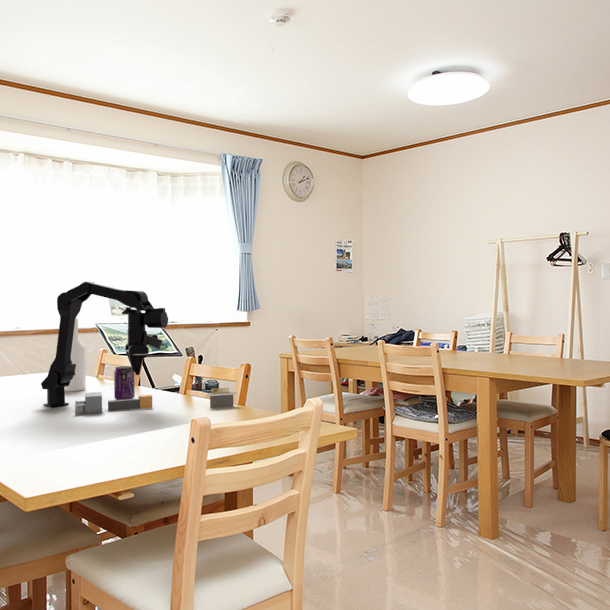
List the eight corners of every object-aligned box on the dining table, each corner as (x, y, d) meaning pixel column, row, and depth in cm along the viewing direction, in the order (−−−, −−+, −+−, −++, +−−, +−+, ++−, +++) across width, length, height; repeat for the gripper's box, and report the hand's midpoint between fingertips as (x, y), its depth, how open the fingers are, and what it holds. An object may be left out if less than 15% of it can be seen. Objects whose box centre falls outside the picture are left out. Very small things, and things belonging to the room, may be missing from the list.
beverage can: (128, 401, 211) (128, 368, 211) (110, 400, 212) (110, 368, 212) (138, 398, 218) (137, 366, 218) (120, 397, 219) (120, 366, 219)
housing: (75, 415, 184) (74, 397, 184) (75, 410, 193) (75, 393, 193) (102, 413, 187) (101, 395, 187) (101, 408, 196) (100, 391, 196)
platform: (191, 407, 198) (191, 387, 198) (242, 403, 205) (242, 384, 205) (198, 412, 187) (198, 392, 187) (252, 408, 194) (251, 388, 194)
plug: (108, 411, 190) (108, 399, 190) (108, 409, 194) (107, 397, 194) (152, 408, 195) (152, 396, 195) (151, 406, 199) (150, 394, 199)
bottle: (63, 391, 239) (62, 318, 239) (67, 388, 246) (66, 318, 247) (84, 390, 240) (83, 318, 240) (87, 388, 248) (86, 318, 248)
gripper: (164, 328, 192) (164, 375, 192) (157, 326, 209) (157, 369, 209) (129, 328, 188) (129, 377, 188) (125, 326, 205) (125, 370, 205)
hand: (136, 373), depth 198 cm, fingers open, 9 cm apart
